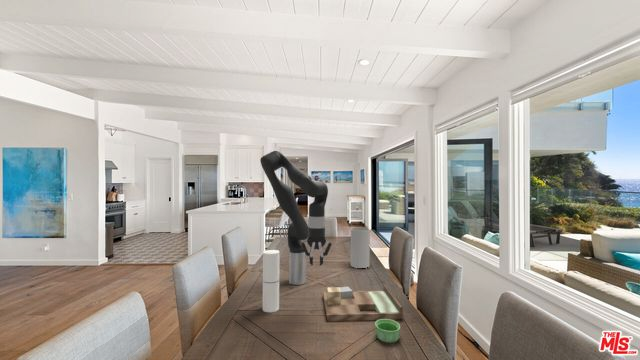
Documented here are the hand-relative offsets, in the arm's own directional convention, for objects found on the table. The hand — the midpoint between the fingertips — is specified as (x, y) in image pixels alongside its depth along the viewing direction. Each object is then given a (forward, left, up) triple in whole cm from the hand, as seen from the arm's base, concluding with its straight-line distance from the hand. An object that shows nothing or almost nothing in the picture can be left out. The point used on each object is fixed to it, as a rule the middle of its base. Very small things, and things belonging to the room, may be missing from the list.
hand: (316, 264), depth 124 cm
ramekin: (+25, -24, -19) cm, 40 cm away
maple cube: (+8, 0, -17) cm, 18 cm away
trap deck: (+19, 0, -19) cm, 27 cm away
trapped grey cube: (+14, +7, -19) cm, 25 cm away
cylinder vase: (+32, +60, -19) cm, 71 cm away
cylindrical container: (-20, 0, -19) cm, 28 cm away
